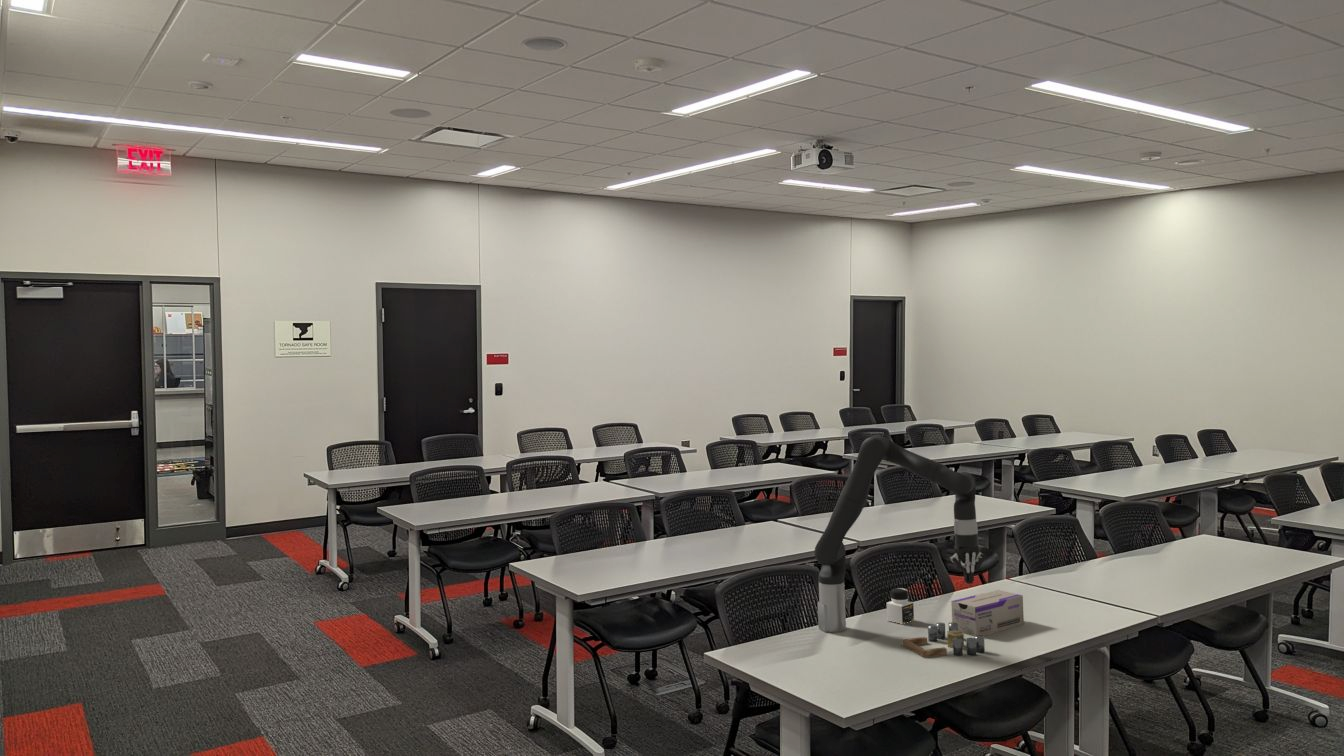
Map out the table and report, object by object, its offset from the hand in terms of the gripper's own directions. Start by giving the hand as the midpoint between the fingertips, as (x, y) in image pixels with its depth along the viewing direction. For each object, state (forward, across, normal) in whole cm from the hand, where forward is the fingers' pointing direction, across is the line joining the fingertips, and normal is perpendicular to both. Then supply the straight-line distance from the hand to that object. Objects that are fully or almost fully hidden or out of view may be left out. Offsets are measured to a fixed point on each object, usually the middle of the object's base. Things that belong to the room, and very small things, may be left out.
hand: (969, 583), depth 298 cm
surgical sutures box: (+21, +16, +16) cm, 31 cm away
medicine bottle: (+20, -10, +34) cm, 41 cm away
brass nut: (+21, -6, +1) cm, 22 cm away
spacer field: (+21, -6, +1) cm, 22 cm away
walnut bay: (+20, -17, +1) cm, 27 cm away
